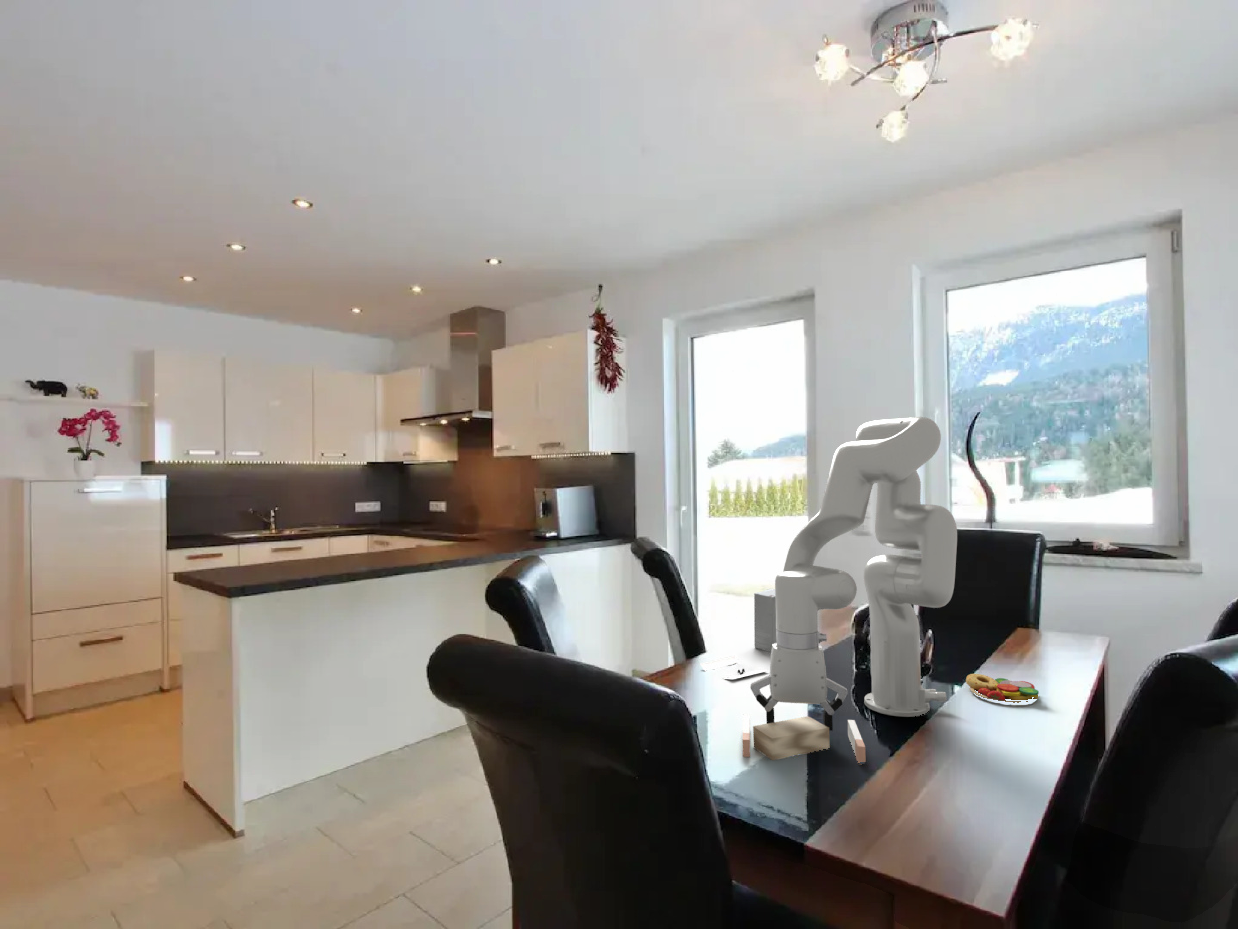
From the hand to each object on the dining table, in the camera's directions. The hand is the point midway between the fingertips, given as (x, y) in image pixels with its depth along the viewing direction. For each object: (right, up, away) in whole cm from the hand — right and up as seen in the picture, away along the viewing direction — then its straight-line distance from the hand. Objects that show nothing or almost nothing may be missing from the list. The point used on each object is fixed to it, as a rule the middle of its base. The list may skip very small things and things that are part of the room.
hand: (799, 732), depth 121 cm
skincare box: (+10, -2, +63) cm, 64 cm away
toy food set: (+50, -1, +21) cm, 55 cm away
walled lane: (0, -2, -2) cm, 3 cm away
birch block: (-2, -2, -3) cm, 4 cm away
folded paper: (-5, -3, +42) cm, 43 cm away
